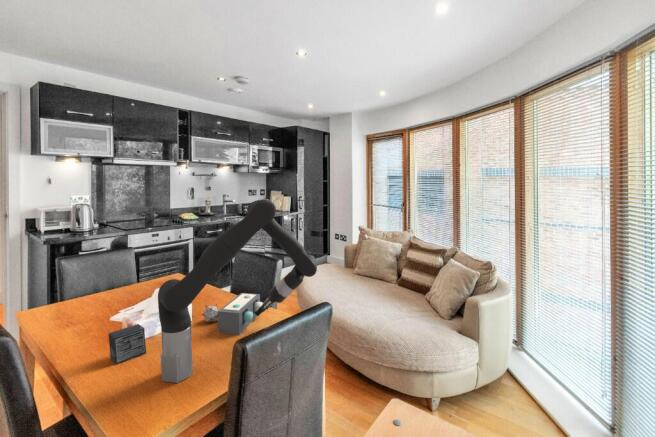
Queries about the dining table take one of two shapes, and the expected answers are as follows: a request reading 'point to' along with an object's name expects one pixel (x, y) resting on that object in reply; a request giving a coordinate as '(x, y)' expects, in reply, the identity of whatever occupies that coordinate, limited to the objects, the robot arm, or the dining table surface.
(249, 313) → the teal button
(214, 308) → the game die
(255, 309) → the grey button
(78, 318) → the dining table surface
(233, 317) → the console
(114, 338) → the small box
